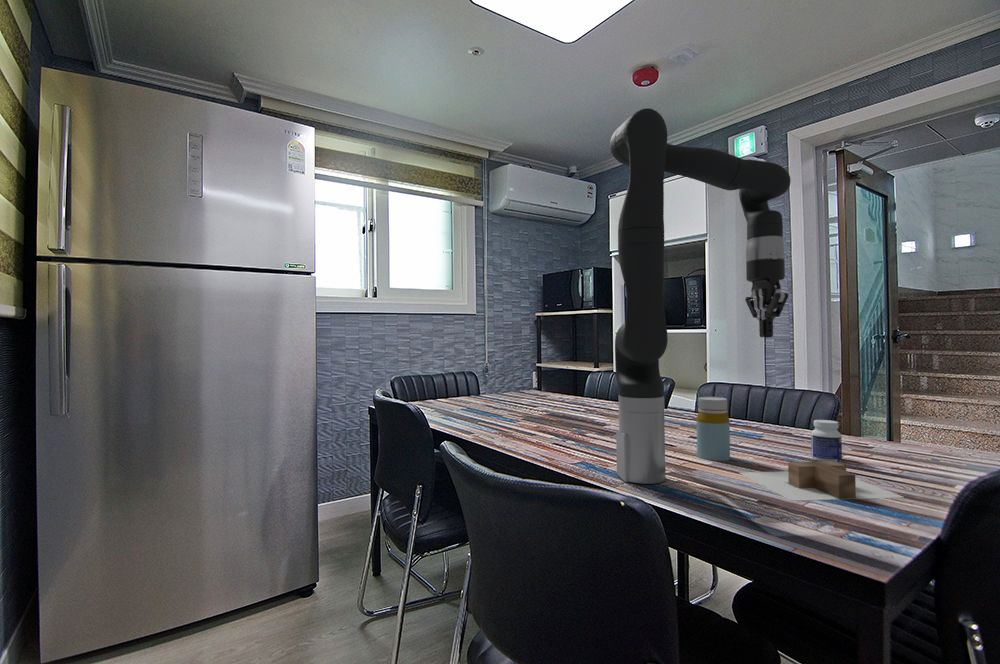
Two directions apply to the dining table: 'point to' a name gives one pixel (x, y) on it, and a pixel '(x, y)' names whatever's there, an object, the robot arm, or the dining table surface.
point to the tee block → (823, 478)
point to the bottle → (713, 429)
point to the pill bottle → (826, 441)
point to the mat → (782, 487)
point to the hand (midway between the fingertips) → (766, 337)
